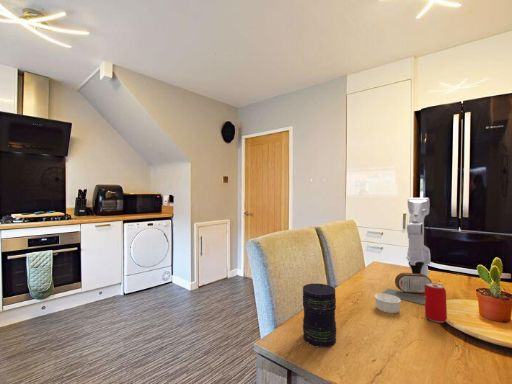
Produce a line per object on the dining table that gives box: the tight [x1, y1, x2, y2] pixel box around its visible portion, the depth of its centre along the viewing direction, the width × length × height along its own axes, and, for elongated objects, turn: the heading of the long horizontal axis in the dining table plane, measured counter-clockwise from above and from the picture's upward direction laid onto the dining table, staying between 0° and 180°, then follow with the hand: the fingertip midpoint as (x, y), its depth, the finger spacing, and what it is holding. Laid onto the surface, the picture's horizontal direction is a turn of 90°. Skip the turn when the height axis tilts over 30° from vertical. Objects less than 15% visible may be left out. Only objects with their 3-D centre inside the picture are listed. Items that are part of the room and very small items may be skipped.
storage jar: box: [302, 283, 337, 349], centre depth 77 cm, size 10×10×15 cm
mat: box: [380, 288, 425, 306], centre depth 109 cm, size 10×20×1 cm, turn 46°
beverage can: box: [424, 282, 448, 324], centre depth 88 cm, size 6×6×12 cm
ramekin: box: [374, 293, 402, 314], centre depth 97 cm, size 9×9×4 cm
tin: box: [394, 272, 433, 295], centre depth 114 cm, size 15×3×8 cm, turn 84°
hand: (416, 277), depth 118 cm, fingers closed
